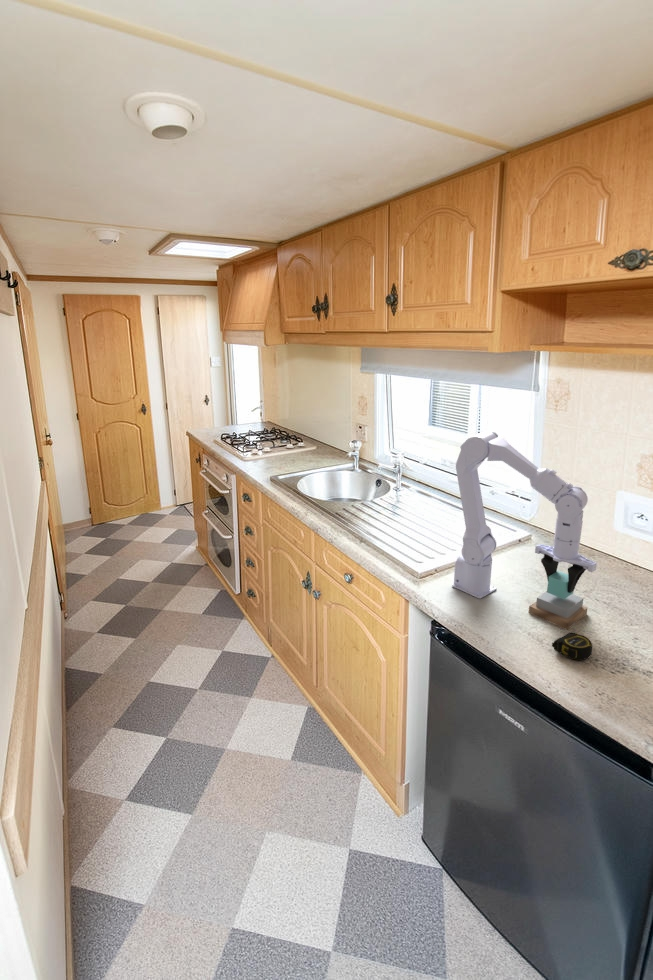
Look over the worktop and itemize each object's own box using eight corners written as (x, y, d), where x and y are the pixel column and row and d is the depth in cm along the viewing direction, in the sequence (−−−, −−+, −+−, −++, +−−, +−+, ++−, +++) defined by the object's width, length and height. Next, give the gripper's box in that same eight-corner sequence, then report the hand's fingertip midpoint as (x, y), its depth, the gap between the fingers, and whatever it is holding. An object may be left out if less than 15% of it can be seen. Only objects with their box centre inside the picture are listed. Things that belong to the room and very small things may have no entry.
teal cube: (546, 592, 131) (548, 576, 129) (556, 586, 133) (558, 570, 132) (564, 599, 127) (566, 582, 126) (573, 593, 130) (575, 577, 129)
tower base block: (528, 614, 133) (529, 606, 132) (548, 601, 139) (549, 593, 138) (566, 631, 126) (567, 622, 125) (586, 616, 132) (587, 607, 131)
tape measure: (569, 641, 121) (571, 627, 120) (597, 656, 115) (599, 642, 114) (550, 651, 118) (552, 637, 117) (578, 667, 112) (580, 652, 111)
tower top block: (536, 606, 132) (536, 597, 131) (551, 595, 137) (552, 587, 136) (566, 618, 126) (568, 609, 126) (582, 607, 131) (583, 598, 130)
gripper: (530, 533, 129) (525, 582, 133) (589, 551, 118) (581, 604, 122) (545, 525, 133) (540, 573, 137) (603, 543, 122) (595, 594, 126)
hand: (560, 587), depth 130 cm, fingers closed on teal cube, 4 cm apart
